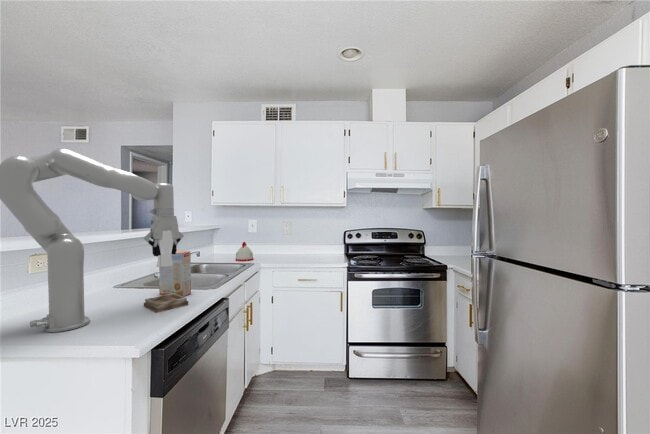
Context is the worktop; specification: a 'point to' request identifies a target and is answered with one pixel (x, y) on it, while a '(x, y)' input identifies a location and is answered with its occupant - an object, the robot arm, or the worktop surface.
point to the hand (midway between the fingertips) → (164, 254)
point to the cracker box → (176, 275)
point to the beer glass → (165, 249)
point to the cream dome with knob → (244, 253)
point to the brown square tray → (165, 302)
